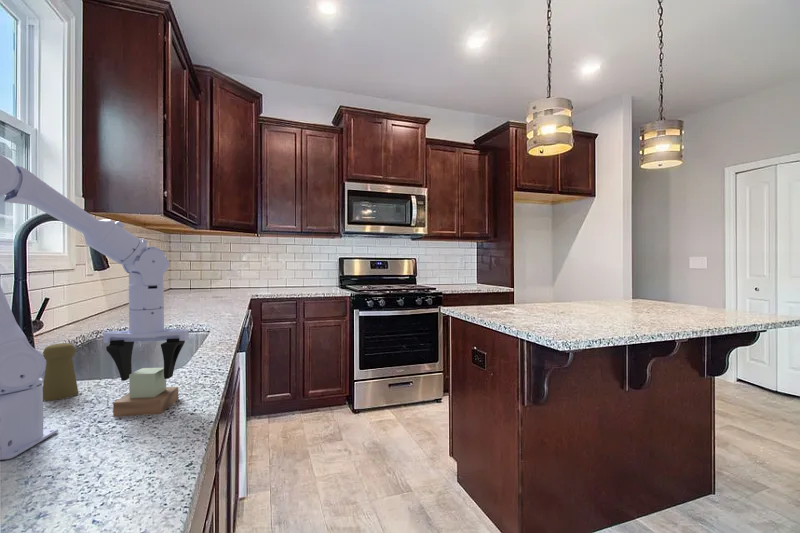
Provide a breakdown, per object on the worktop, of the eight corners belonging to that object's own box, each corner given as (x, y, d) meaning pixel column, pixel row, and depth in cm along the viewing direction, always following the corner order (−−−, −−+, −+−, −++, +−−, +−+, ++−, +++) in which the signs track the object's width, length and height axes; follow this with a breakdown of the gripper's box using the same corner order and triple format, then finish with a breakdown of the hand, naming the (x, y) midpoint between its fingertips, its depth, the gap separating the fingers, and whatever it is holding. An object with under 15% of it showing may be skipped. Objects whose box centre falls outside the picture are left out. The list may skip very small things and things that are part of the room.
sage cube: (155, 397, 74) (154, 373, 74) (129, 398, 74) (129, 374, 74) (166, 389, 79) (165, 367, 79) (142, 390, 78) (141, 368, 78)
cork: (44, 402, 79) (43, 348, 79) (37, 396, 83) (36, 344, 83) (82, 394, 84) (81, 343, 84) (74, 389, 88) (73, 340, 87)
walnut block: (160, 416, 73) (160, 400, 73) (113, 418, 72) (113, 402, 72) (178, 401, 81) (178, 386, 81) (136, 403, 80) (136, 388, 80)
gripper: (194, 305, 81) (195, 371, 81) (118, 306, 79) (118, 374, 79) (179, 309, 74) (180, 381, 74) (95, 311, 72) (96, 384, 72)
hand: (147, 378), depth 76 cm, fingers open, 7 cm apart
